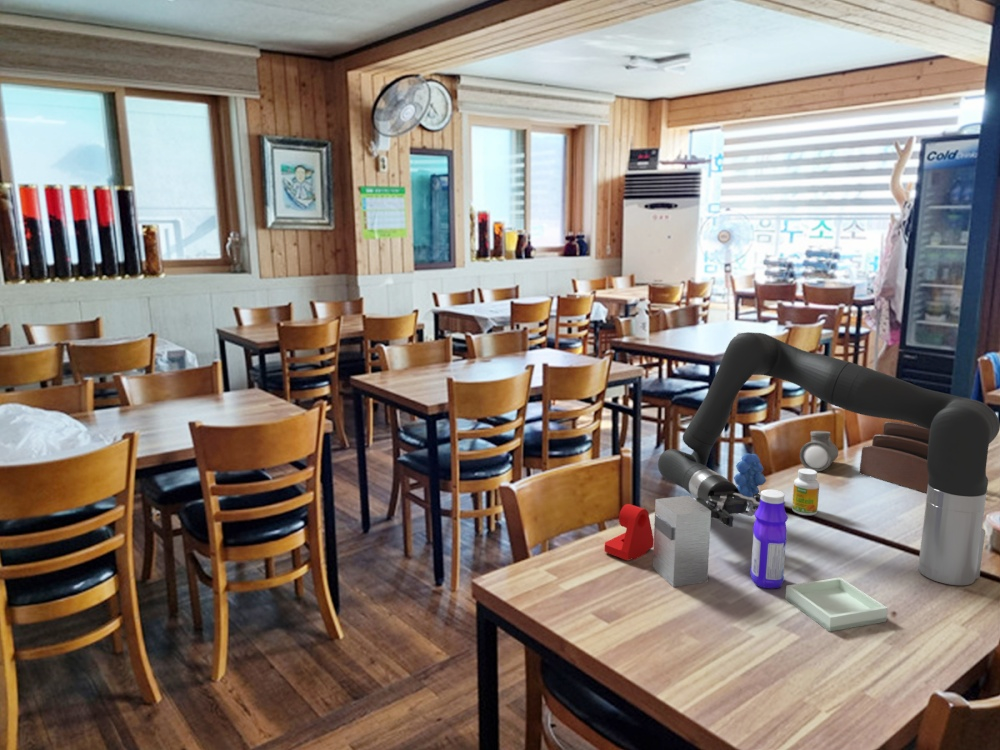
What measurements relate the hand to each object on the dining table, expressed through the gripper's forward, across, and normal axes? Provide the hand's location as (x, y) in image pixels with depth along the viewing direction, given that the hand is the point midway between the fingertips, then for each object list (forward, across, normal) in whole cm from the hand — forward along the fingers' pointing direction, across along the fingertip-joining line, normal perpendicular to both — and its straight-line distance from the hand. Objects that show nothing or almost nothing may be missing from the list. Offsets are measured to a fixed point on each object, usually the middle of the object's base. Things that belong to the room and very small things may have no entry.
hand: (752, 520), depth 141 cm
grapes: (-31, +18, +10) cm, 37 cm away
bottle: (+6, 0, +10) cm, 12 cm away
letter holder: (-37, +64, +10) cm, 74 cm away
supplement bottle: (-23, +26, +10) cm, 36 cm away
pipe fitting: (-52, +49, +10) cm, 72 cm away
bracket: (-11, -21, +10) cm, 25 cm away
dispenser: (+1, -15, +9) cm, 17 cm away
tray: (+18, +6, +10) cm, 21 cm away
